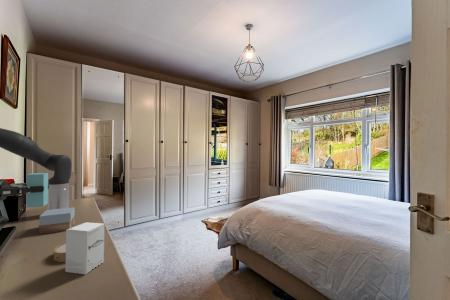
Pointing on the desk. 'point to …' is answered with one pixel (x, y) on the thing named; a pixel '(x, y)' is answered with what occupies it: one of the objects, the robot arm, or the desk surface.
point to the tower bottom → (56, 227)
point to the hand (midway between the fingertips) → (46, 187)
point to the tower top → (57, 216)
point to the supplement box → (84, 247)
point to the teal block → (37, 197)
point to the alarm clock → (60, 252)
